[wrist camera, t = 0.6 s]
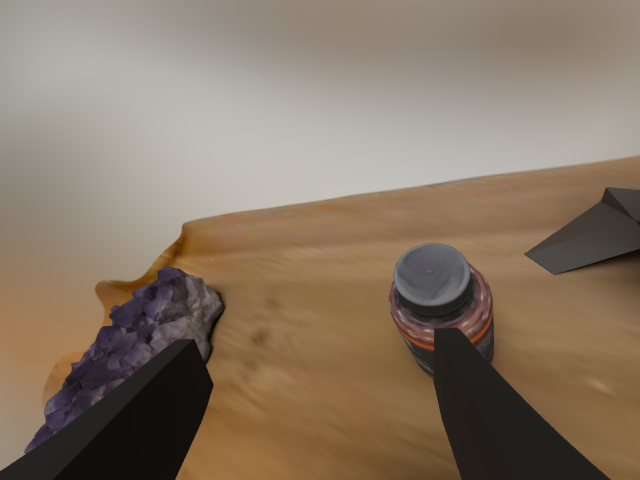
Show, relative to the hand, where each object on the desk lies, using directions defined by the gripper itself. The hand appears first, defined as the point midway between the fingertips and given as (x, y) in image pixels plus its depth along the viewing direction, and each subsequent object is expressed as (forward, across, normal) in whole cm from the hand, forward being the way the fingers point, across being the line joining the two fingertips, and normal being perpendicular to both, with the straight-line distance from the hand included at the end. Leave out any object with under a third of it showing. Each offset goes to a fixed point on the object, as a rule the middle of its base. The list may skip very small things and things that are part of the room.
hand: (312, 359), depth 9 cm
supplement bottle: (+13, -8, +12) cm, 19 cm away
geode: (+16, +22, +18) cm, 33 cm away
